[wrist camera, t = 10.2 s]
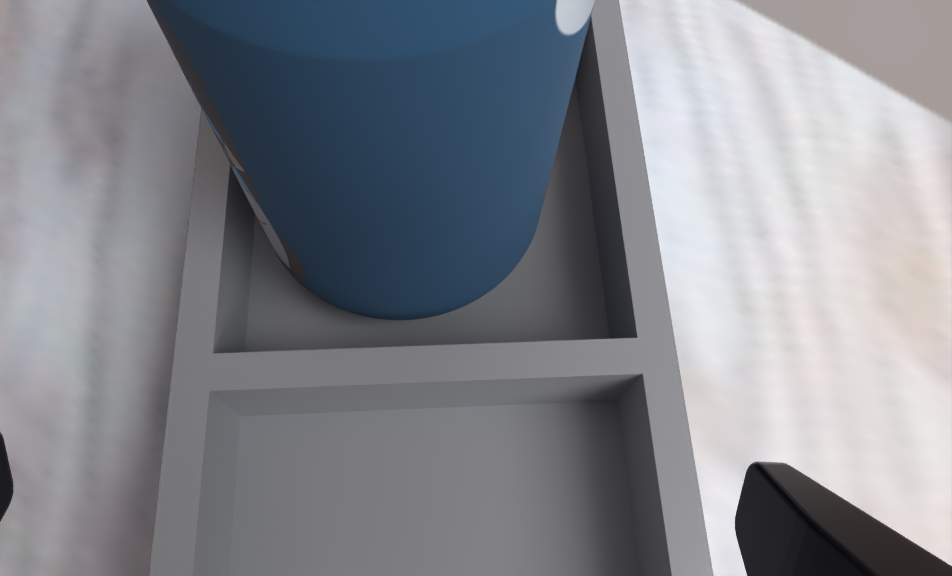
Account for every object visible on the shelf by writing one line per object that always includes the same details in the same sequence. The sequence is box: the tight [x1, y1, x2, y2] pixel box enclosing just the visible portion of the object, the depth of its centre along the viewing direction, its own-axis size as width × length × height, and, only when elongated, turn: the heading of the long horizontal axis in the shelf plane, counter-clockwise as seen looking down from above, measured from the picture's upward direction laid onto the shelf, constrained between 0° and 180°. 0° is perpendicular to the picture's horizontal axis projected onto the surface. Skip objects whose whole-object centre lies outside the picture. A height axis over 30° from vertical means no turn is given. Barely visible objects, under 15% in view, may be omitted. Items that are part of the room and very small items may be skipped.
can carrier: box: [149, 0, 713, 576], centre depth 16 cm, size 20×11×3 cm, turn 3°
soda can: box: [147, 0, 595, 320], centre depth 14 cm, size 7×7×12 cm
